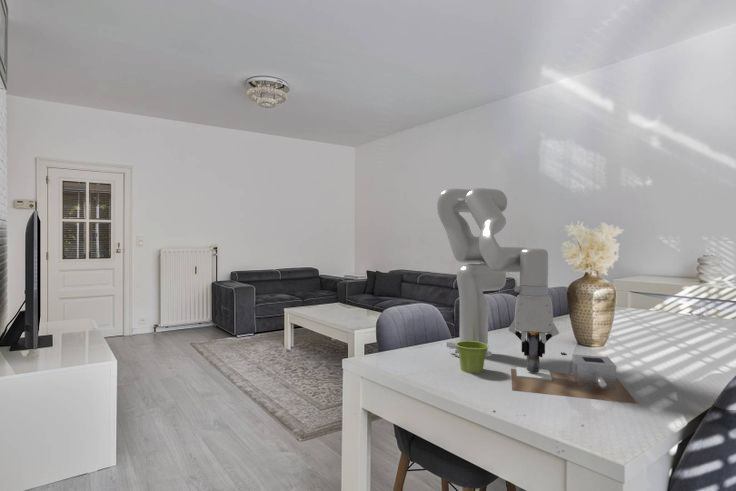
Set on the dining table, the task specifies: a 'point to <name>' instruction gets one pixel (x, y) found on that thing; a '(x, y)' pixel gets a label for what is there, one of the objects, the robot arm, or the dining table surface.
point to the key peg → (533, 351)
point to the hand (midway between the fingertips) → (533, 354)
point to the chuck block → (594, 371)
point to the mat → (533, 374)
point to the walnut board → (570, 388)
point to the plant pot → (472, 355)
